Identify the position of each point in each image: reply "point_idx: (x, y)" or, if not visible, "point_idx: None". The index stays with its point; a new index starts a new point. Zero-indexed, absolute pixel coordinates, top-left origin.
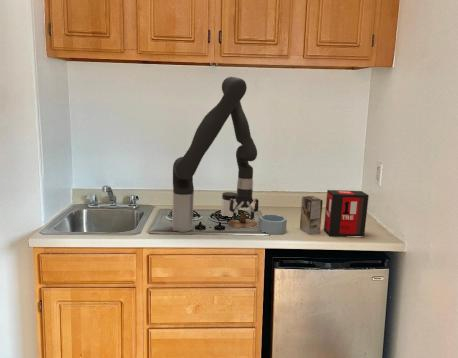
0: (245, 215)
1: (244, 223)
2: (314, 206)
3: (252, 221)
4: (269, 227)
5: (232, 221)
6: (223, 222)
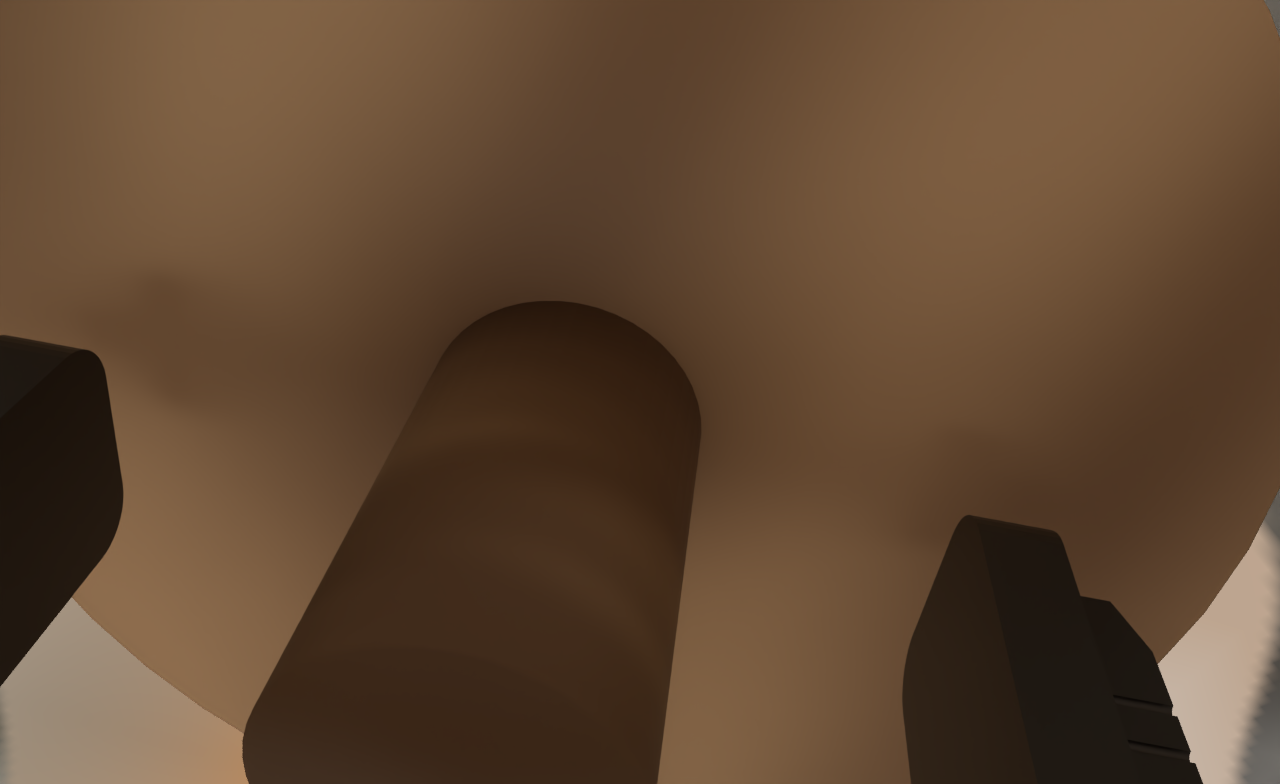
0: (344, 599)
1: (524, 294)
2: None
3: None
4: None
5: None
6: (1259, 739)
